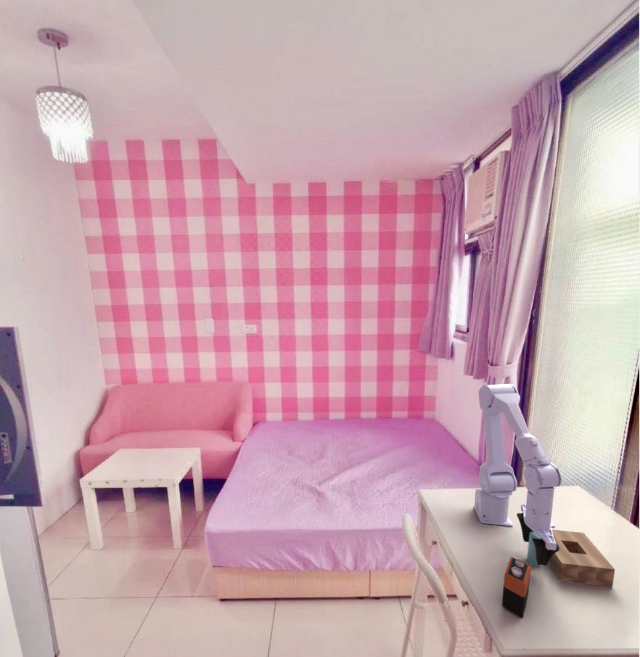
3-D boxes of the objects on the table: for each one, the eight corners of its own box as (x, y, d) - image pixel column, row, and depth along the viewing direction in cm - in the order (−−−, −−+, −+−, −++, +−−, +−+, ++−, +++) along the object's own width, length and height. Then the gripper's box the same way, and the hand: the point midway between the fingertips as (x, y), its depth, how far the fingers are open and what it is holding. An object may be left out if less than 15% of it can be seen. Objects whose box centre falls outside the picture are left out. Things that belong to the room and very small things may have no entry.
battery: (501, 607, 76) (504, 570, 75) (508, 587, 81) (511, 551, 80) (522, 619, 74) (526, 581, 72) (528, 598, 79) (531, 561, 77)
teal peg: (530, 566, 87) (532, 539, 86) (525, 556, 90) (527, 531, 89) (542, 567, 87) (545, 540, 86) (536, 558, 90) (539, 532, 89)
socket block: (560, 580, 83) (561, 563, 82) (536, 543, 95) (538, 528, 94) (612, 586, 81) (614, 569, 81) (582, 548, 93) (583, 532, 92)
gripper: (572, 528, 79) (566, 577, 81) (541, 491, 93) (537, 533, 95) (540, 525, 80) (535, 574, 82) (514, 488, 94) (511, 530, 96)
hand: (534, 552), depth 88 cm, fingers open, 7 cm apart
